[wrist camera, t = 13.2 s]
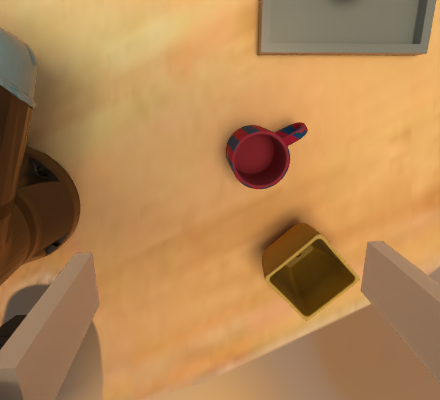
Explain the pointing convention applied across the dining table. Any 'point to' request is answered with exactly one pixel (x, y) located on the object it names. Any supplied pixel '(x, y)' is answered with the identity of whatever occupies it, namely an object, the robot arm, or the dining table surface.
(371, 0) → the tray
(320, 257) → the flower pot
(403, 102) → the dining table surface
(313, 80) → the dining table surface
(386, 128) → the dining table surface
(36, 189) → the robot arm
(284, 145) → the mug
